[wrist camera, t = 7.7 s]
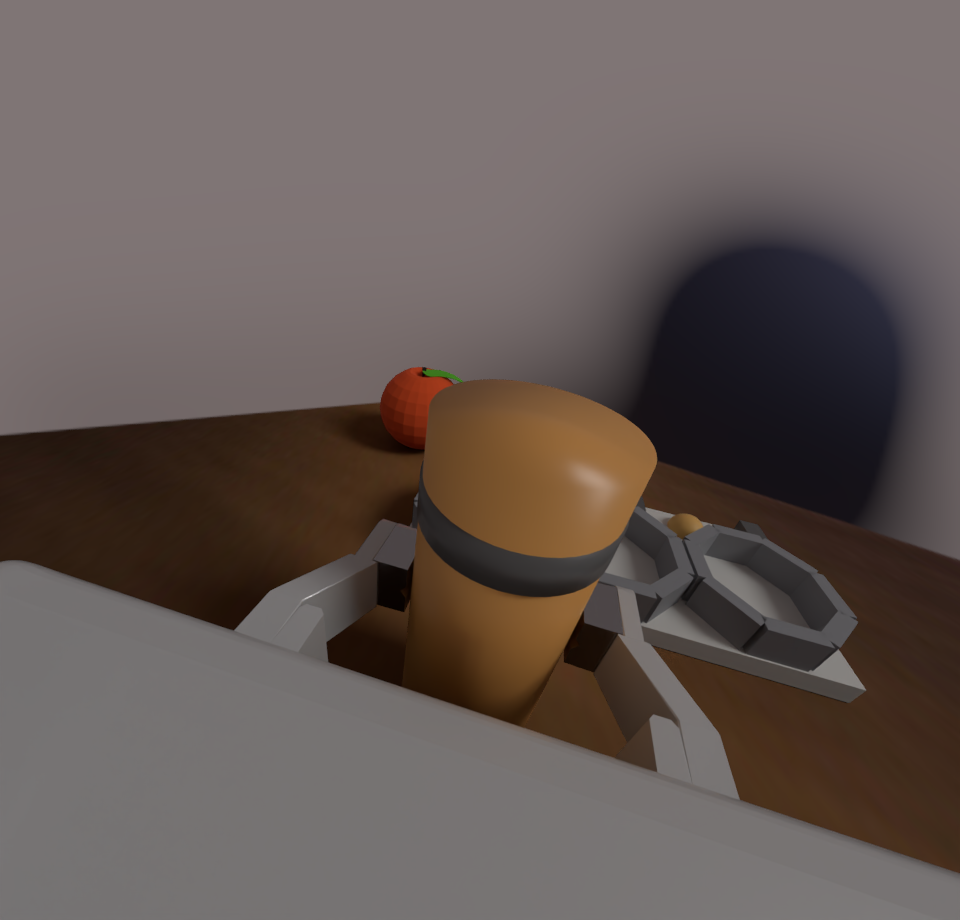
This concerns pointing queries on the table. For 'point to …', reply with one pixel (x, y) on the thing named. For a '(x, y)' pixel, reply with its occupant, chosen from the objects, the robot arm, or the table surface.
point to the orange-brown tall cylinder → (513, 537)
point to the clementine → (411, 403)
